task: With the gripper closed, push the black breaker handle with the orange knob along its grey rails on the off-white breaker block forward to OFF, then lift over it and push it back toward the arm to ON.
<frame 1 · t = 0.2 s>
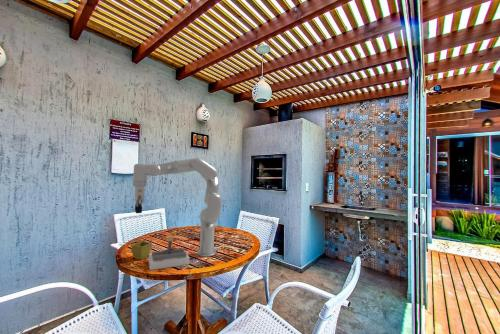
hand: (138, 211, 134), 31 cm above the table, fingers open, 9 cm apart
breaker lever: (169, 245, 136), point 10 cm above the table, slide at 0.0 cm
breaker block: (168, 262, 135), on the table
flower pot: (140, 258, 142), on the table
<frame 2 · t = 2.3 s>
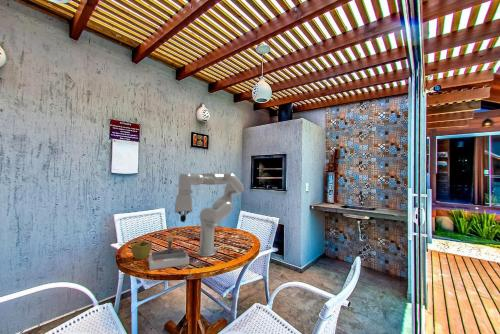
hand: (182, 221, 140), 25 cm above the table, fingers closed
nothing on the table moved.
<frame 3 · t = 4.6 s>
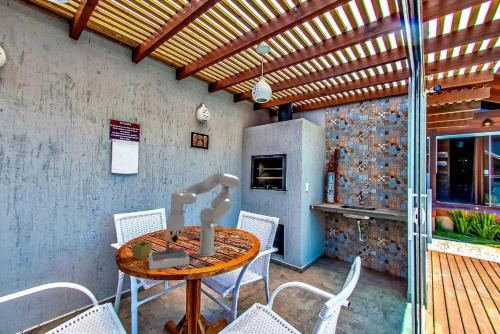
hand: (174, 242, 137), 12 cm above the table, fingers closed
breaker lever: (167, 245, 135), point 10 cm above the table, slide at 1.1 cm, touching gripper
everything else where it was.
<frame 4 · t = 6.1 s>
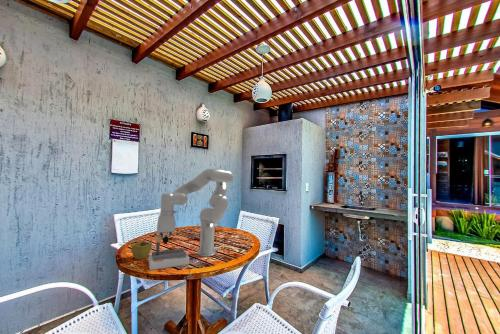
hand: (165, 243, 135), 12 cm above the table, fingers closed
breaker lever: (157, 247, 133), point 10 cm above the table, slide at 6.7 cm, touching gripper
everything else where it was.
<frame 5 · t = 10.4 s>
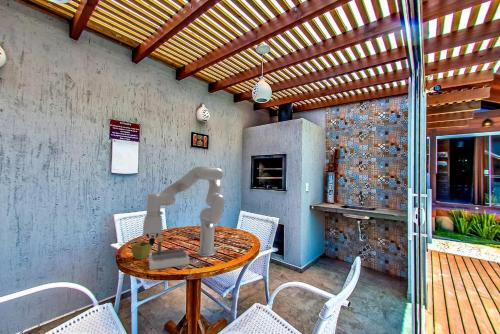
hand: (151, 245, 131), 12 cm above the table, fingers closed
breaker lever: (159, 246, 133), point 10 cm above the table, slide at 5.9 cm, touching gripper
everything else where it was.
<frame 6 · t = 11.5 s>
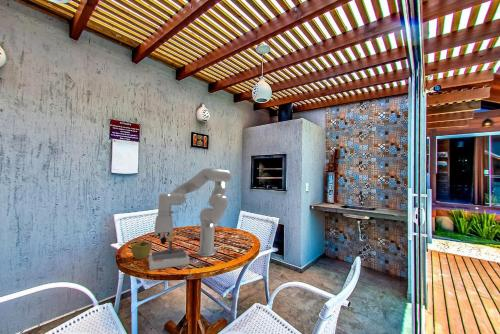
hand: (163, 243, 134), 12 cm above the table, fingers closed
breaker lever: (170, 245, 136), point 10 cm above the table, slide at -0.5 cm, touching gripper
everything else where it was.
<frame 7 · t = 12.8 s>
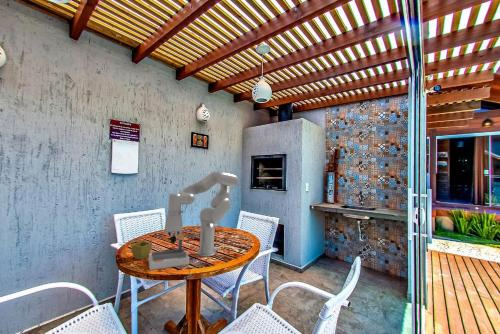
hand: (173, 242, 137), 12 cm above the table, fingers closed
breaker lever: (180, 244, 139), point 10 cm above the table, slide at -6.3 cm, touching gripper
everything else where it was.
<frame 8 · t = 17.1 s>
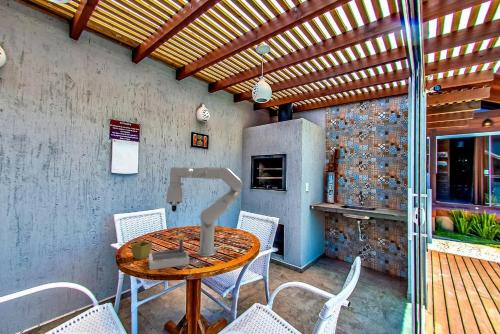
hand: (173, 211, 152), 29 cm above the table, fingers closed
breaker lever: (180, 244, 139), point 10 cm above the table, slide at -6.7 cm
everything else where it was.
at the end: breaker lever slide at -6.7 cm; flower pot moved 0.2 cm from its start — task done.
